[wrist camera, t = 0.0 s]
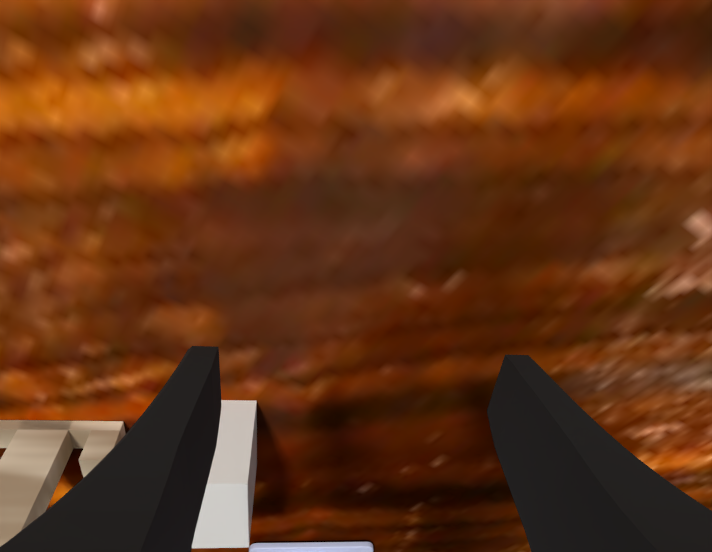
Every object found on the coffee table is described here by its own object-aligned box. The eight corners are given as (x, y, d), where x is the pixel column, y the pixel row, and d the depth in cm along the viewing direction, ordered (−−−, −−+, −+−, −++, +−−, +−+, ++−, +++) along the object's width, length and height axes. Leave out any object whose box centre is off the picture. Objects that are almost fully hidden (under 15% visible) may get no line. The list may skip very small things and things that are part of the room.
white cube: (257, 462, 31) (249, 547, 27) (166, 461, 30) (143, 548, 26) (256, 399, 28) (247, 483, 24) (156, 398, 28) (129, 483, 23)
